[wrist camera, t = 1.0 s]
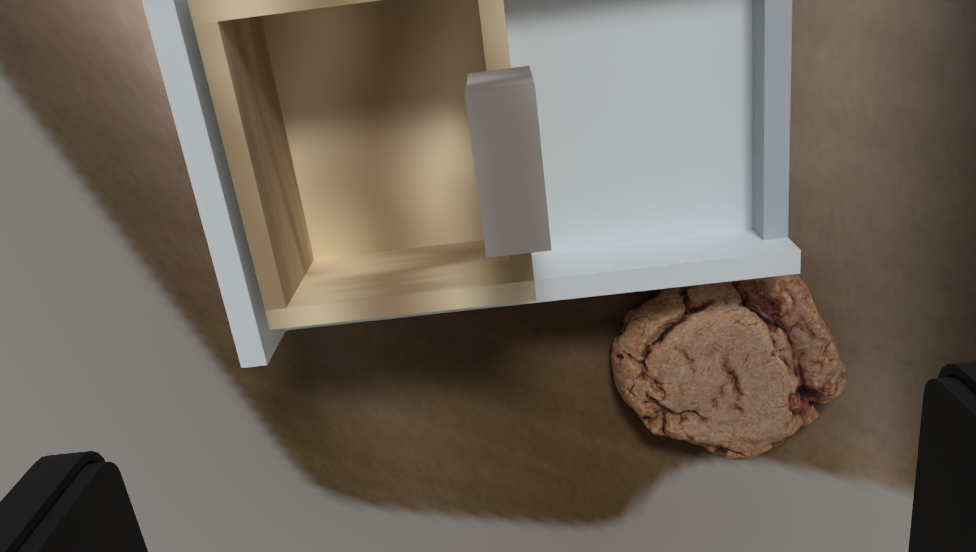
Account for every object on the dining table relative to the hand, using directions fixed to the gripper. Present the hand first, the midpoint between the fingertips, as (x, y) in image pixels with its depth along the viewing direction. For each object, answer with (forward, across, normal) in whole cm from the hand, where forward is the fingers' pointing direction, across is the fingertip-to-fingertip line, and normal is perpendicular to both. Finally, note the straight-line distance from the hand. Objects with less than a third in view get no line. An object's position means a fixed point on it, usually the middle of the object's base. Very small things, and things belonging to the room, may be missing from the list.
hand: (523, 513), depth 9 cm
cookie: (+27, -9, +13) cm, 31 cm away
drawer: (+25, +4, 0) cm, 26 cm away
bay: (+26, 0, 0) cm, 26 cm away
